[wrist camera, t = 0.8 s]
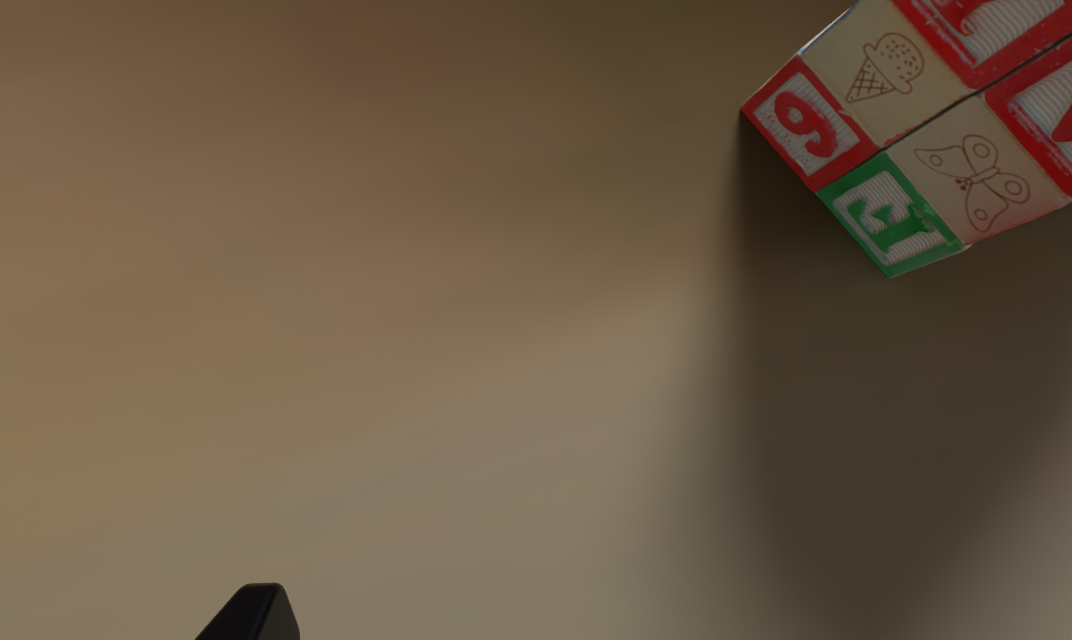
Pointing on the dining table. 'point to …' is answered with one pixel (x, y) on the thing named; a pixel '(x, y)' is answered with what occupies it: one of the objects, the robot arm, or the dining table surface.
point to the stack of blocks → (928, 121)
